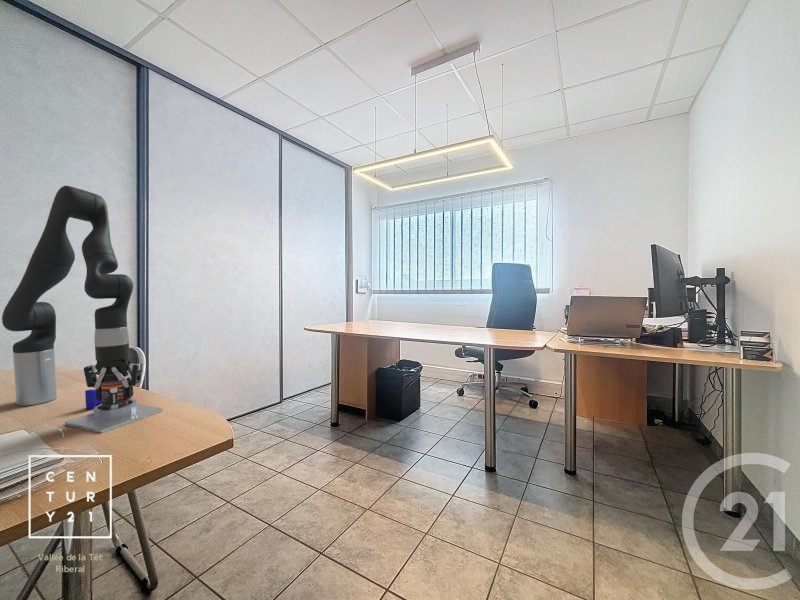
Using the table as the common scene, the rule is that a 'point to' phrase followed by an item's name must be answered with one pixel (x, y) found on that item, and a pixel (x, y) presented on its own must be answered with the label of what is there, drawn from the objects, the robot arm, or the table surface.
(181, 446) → the table surface
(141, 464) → the table surface
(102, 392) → the supplement bottle
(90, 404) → the blue notched bracket
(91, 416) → the duct panel
